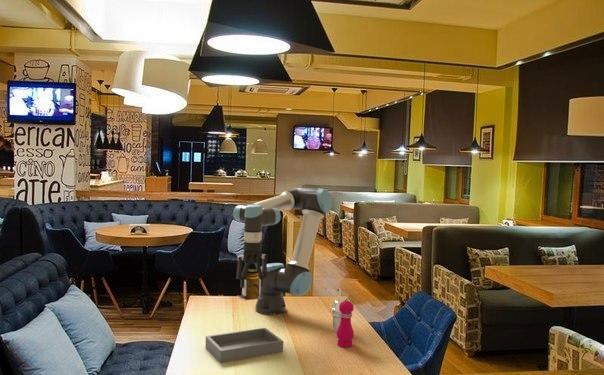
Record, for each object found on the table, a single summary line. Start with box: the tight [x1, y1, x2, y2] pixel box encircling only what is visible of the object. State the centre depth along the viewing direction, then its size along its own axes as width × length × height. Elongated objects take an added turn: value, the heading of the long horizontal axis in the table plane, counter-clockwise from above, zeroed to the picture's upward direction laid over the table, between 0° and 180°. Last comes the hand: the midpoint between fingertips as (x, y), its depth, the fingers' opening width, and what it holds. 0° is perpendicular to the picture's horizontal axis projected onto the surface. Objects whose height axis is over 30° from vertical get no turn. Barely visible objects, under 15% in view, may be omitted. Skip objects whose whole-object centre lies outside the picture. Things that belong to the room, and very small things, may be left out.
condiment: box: [236, 268, 261, 302], centre depth 224 cm, size 7×8×12 cm
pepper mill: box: [336, 296, 355, 349], centre depth 215 cm, size 7×7×20 cm
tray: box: [205, 327, 284, 364], centre depth 206 cm, size 26×17×4 cm, turn 119°
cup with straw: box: [329, 287, 344, 333], centre depth 232 cm, size 8×9×20 cm
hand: (251, 294), depth 225 cm, fingers closed on condiment, 6 cm apart
